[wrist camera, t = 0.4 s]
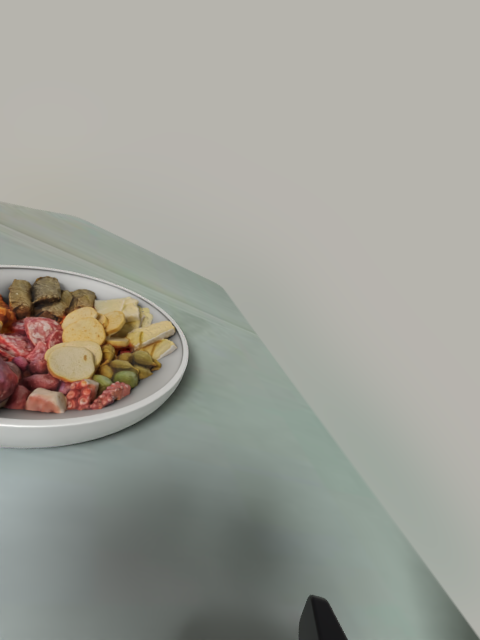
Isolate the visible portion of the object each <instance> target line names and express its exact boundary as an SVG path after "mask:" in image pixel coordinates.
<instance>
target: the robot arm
mask: <svg viewBox="0 0 480 640" xmlns="http://www.w3.org/2000/svg"><path fill="white" fill-rule="evenodd" d="M299 640H348V639H347V637H346V635H345V633H344V631H343V630H342V628H341V626H340V624H339V622H338V620H337V618H336V616H335V614H334V612H333V610H332V608H331V606H330V604H329V603H328V601H327V600H326V599H324V598H322V597H318V596H315V595H310V596H309V597H308V599H307V601H306V604H305V607H304V610H303V612H302V615H301V618H300V622H299Z"/></svg>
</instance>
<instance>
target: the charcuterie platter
mask: <svg viewBox="0 0 480 640" xmlns="http://www.w3.org/2000/svg"><path fill="white" fill-rule="evenodd" d="M188 355H189V352H188V345H187V341H186V338H185V336H184V334H183V332H182V330H181V329H180V327H179V326H178V324H177V323H176V322H175V321H174V320H173V319H172V318H171V317H170V316H169V315H168V314H167V313H166V312H165V311H164V310H162V309H161V308H160V307H159V306H157V305H156V304H154V303H153V302H151V301H150V300H148V299H146V298H145V297H143V296H141V295H139V294H137V293H135V292H133V291H131V290H129V289H126V288H124V287H122V286H119V285H116V284H114V283H111V282H108V281H105V280H102V279H99V278H95V277H92V276H88V275H84V274H80V273H75V272H70V271H65V270H59V269H52V268H44V267H35V266H21V265H0V447H1V448H46V447H56V446H64V445H70V444H76V443H81V442H85V441H89V440H93V439H97V438H100V437H104V436H107V435H109V434H112V433H115V432H118V431H120V430H122V429H125V428H127V427H129V426H131V425H133V424H135V423H137V422H138V421H140V420H142V419H143V418H145V417H147V416H148V415H150V414H151V413H152V412H154V411H155V410H156V409H157V408H159V407H160V406H161V405H162V404H163V403H164V402H165V401H166V400H167V399H168V398H169V397H170V396H171V394H172V393H173V392H174V391H175V389H176V388H177V386H178V384H179V383H180V381H181V379H182V377H183V374H184V372H185V369H186V366H187V363H188Z"/></svg>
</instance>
